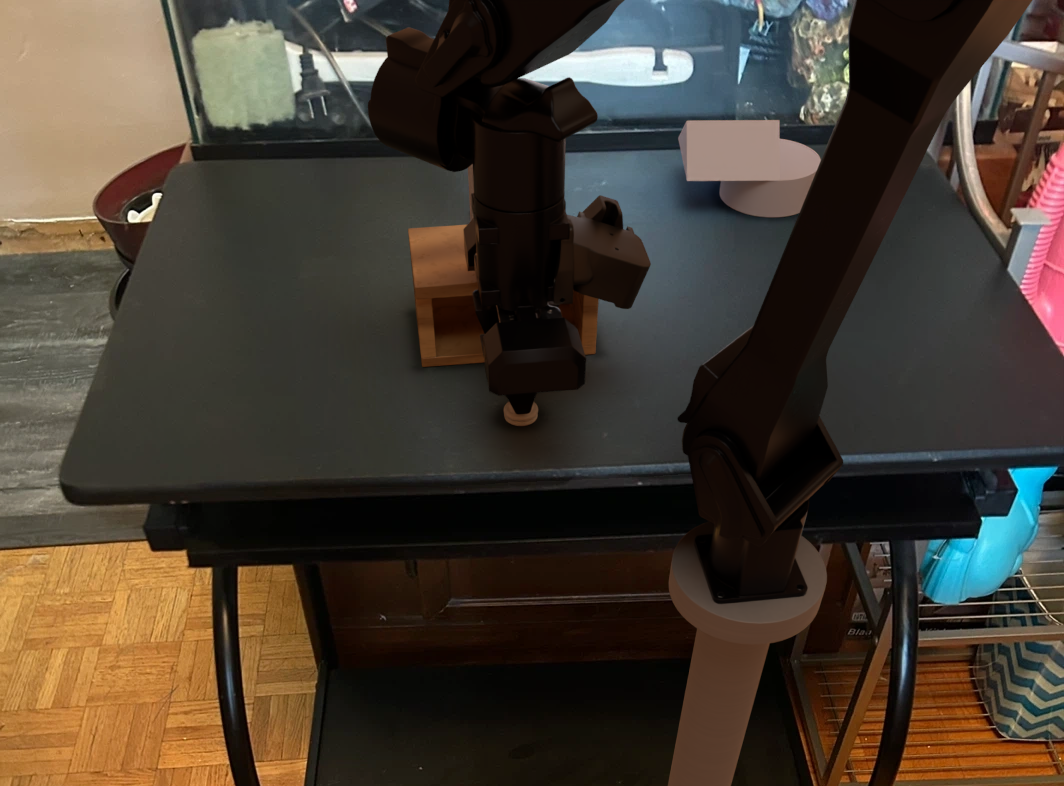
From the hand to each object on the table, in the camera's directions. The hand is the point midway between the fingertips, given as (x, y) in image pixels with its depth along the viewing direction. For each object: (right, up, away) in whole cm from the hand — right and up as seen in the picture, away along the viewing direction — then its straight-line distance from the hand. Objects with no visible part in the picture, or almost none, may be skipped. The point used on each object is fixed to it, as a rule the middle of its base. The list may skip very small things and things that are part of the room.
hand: (521, 405), depth 76 cm
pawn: (0, -1, +1) cm, 1 cm away
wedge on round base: (+22, +27, +23) cm, 42 cm away
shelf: (-1, +8, +8) cm, 12 cm away
